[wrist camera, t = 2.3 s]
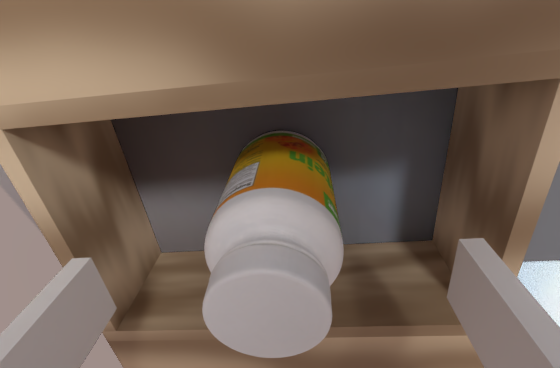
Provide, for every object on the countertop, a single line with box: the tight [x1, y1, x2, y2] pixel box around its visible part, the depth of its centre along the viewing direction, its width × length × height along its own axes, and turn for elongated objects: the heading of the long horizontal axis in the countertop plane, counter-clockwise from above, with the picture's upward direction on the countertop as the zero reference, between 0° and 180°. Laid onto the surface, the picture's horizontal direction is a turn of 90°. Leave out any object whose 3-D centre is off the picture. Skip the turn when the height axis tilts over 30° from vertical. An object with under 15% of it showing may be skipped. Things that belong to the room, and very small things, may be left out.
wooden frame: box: [0, 0, 560, 368], centre depth 15 cm, size 19×20×6 cm
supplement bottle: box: [202, 131, 344, 358], centre depth 13 cm, size 5×5×10 cm
